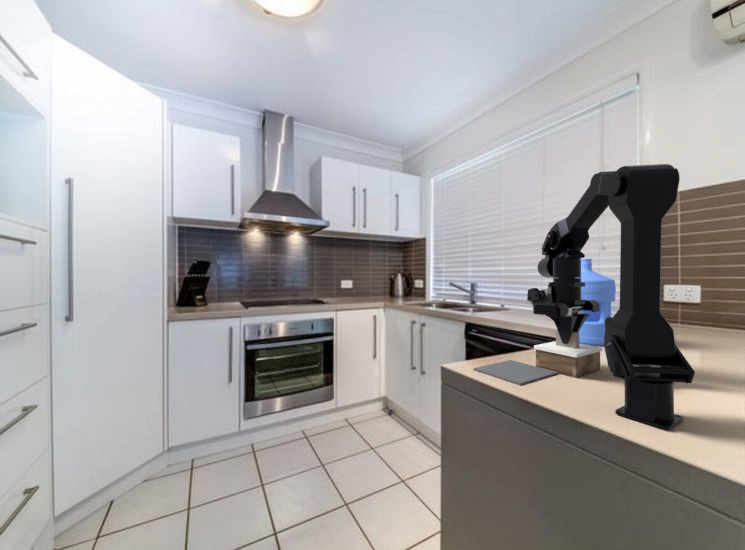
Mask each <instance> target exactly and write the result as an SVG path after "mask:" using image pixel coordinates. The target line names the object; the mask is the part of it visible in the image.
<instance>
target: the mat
mask: <svg viewBox="0 0 745 550" xmlns="http://www.w3.org/2000/svg"><path fill="white" fill-rule="evenodd" d="M473 371H476V372H478V373H481V374H485V375H487V376H492V377H494V378H497V379H500V380H503V381H507V382H509V383H512V384H515V385H518V386H522V385H525V384H529V383H532V382H536V381H539V380H542V379H546V378H550V377H553V376H556V375H558V374H559V373H558V372H556V371H552V370H548V369H544V368H540V367H536V365H532V364H528V363H524V362H520V361H516V360H513V359H510V360H504V361H499V362H495V363H490V364H486V365H483V366H477V367H473Z"/></svg>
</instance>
